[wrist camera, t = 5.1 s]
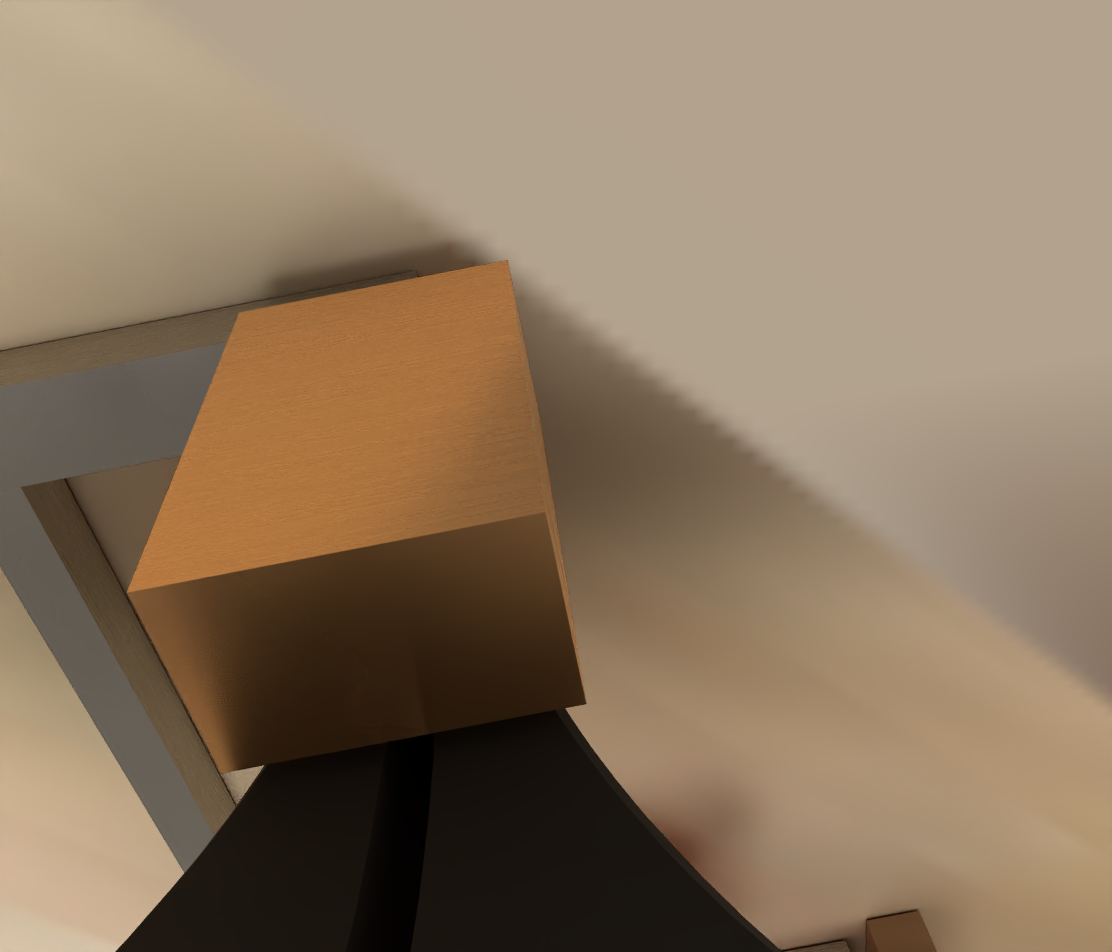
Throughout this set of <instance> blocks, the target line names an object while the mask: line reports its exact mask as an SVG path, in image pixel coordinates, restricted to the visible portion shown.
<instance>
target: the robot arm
mask: <svg viewBox="0 0 1112 952" xmlns="http://www.w3.org/2000/svg"><path fill="white" fill-rule="evenodd" d="M116 952H782V951H781V950H780V949H778V948H777V947H776V946H775V945H774V944H773V943H772V942H771V941H770V940H768V939H767V938H766V937H765V936H764V935H763V934H762V933H761V932H760V931H758V930H757V929H756V928H755V927H754V926H753V925H752V924H751V923H750V922H748V921H747V920H746V919H745V918H744V917H743V916H742V915H741V914H740V913H739V912H738V911H737V910H736V909H735V908H734V907H733V906H732V905H731V904H730V903H729V902H728V901H727V900H726V899H724V898H723V897H722V896H721V895H720V894H719V893H718V892H717V891H716V890H715V889H714V888H713V887H712V886H711V885H710V884H709V883H708V882H707V881H706V880H705V879H704V878H703V877H702V876H701V875H700V874H699V873H698V872H697V871H696V870H695V869H694V867H693V866H692V865H691V864H690V863H689V862H688V861H687V860H686V859H685V858H684V857H683V856H682V855H681V853H680V852H679V851H678V850H677V849H676V848H675V847H674V846H673V845H672V844H671V843H670V842H669V841H668V839H667V838H666V837H665V836H664V835H663V834H662V833H661V832H660V831H659V830H658V829H657V828H656V826H655V825H654V824H653V823H652V822H651V821H650V820H649V819H648V818H647V817H646V816H645V814H644V813H643V812H642V811H641V810H640V808H639V807H638V806H637V805H636V804H635V802H634V801H633V800H632V799H631V797H630V796H629V795H628V794H627V793H626V791H625V790H624V789H623V788H622V786H621V785H620V784H619V783H618V782H617V780H616V779H615V778H614V777H613V775H612V774H611V773H610V771H609V770H608V769H607V767H606V766H605V765H604V763H603V762H602V761H601V759H600V758H599V757H598V755H597V754H596V753H595V751H594V750H593V749H592V747H591V746H590V745H589V743H588V742H587V740H586V739H585V738H584V736H583V735H582V733H581V732H580V730H579V729H578V727H577V726H576V724H575V723H574V721H573V720H572V719H571V717H570V715H569V714H568V712H567V711H566V709H565V708H563V709H557V710H552V711H547V712H542V713H536V714H531V715H526V716H521V717H515V718H510V719H505V720H500V721H494V722H489V723H484V724H479V725H473V726H468V727H463V728H458V729H452V730H447V731H442V732H436V733H431V734H426V735H421V736H415V737H410V738H405V739H400V740H394V741H389V742H384V743H379V744H373V745H368V746H363V747H358V748H352V749H347V750H342V751H336V752H331V753H326V754H321V755H315V756H310V757H305V758H300V759H294V760H289V761H284V762H279V763H273V764H268V765H264V767H263V768H262V770H261V771H260V773H259V774H258V776H257V777H256V779H255V780H254V782H253V783H252V784H251V786H250V787H249V789H248V790H247V792H246V793H245V795H244V796H243V797H242V799H241V800H240V802H239V803H238V804H237V806H236V807H235V809H234V810H233V811H232V813H231V814H230V815H229V817H228V818H227V820H226V821H225V822H224V823H223V825H222V826H221V827H220V829H219V830H218V831H217V833H216V834H215V835H214V837H213V838H212V839H211V841H210V842H209V843H208V845H207V846H206V847H205V848H204V850H203V851H202V852H201V854H200V855H199V856H198V857H197V859H196V860H195V861H194V862H193V863H192V865H191V866H190V867H189V868H188V869H187V871H186V872H185V873H184V874H183V875H182V877H181V878H180V879H179V880H178V881H177V883H176V884H175V885H174V886H173V887H172V889H171V890H170V891H169V892H168V893H167V894H166V895H165V897H164V898H163V899H162V900H161V901H160V902H159V903H158V905H157V906H156V907H155V908H154V909H153V910H152V911H151V913H150V914H149V915H148V916H147V917H146V918H145V919H144V921H143V922H142V923H141V924H140V925H139V926H138V927H137V929H136V930H135V931H134V932H133V933H132V934H131V935H130V937H129V938H128V939H127V940H126V941H125V942H124V943H123V944H122V945H121V946H120V947H119V948H118V950H117V951H116Z"/></svg>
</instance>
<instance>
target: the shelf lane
mask: <svg viewBox="0 0 1112 952" xmlns="http://www.w3.org/2000/svg"><path fill="white" fill-rule="evenodd" d="M866 952H937V951H936V949H935V947H934V944H933V942H932V940H931V937H930V935H929V933H928V930H927V928H926V926H925V924H924V921H923V919H922V917H921V914H920V912H919V911H916V912H910V913H905V914H899V915H894V916H889V917H883V918H878V919H873V920H867V921H866Z"/></svg>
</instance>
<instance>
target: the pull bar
mask: <svg viewBox="0 0 1112 952" xmlns="http://www.w3.org/2000/svg"><path fill="white" fill-rule="evenodd" d="M178 456H181V459H180V461H179V464H178V466H177V469H176V471H175V474H174V476H173V479H172V481H171V484H170V486H169V489H168V491H167V494H166V496H165V499H164V501H163V504H162V506H161V509H160V511H159V514H158V516H157V519H156V521H155V524H154V526H153V529H152V531H151V534H150V536H149V538H148V541H147V543H146V546H145V548H144V551H143V553H142V556H141V558H140V561H139V563H138V566H137V568H136V571H135V573H134V576H133V578H132V581H131V583H130V586H129V588H128V591H127V594H128V596H129V598H130V600H131V602H132V604H133V606H134V608H135V609H136V611H137V613H138V615H139V617H140V619H141V621H142V623H143V625H144V627H145V629H146V630H147V632H148V634H149V636H150V638H151V640H152V642H153V644H154V646H155V648H156V650H157V652H158V653H159V655H160V657H161V659H162V661H163V663H164V665H165V667H166V669H167V671H168V673H169V674H170V676H171V678H172V680H173V682H174V684H175V686H176V688H177V690H178V692H179V694H180V696H181V697H182V699H183V701H184V703H185V705H186V707H187V709H188V711H189V713H190V715H191V717H192V718H193V720H194V722H195V724H196V726H197V728H198V730H199V732H200V734H201V736H202V738H203V740H204V741H205V743H206V745H207V747H208V749H209V751H210V753H211V755H212V757H213V759H214V761H215V763H216V764H217V766H218V768H219V770H220V772H221V773H226V772H231V771H236V770H242V769H247V768H252V767H258V766H263V765H268V764H273V763H279V762H284V761H289V760H294V759H300V758H305V757H310V756H315V755H321V754H326V753H331V752H336V751H342V750H347V749H352V748H358V747H363V746H368V745H373V744H379V743H384V742H389V741H394V740H400V739H405V738H410V737H415V736H421V735H426V734H431V733H436V732H442V731H447V730H452V729H458V728H463V727H468V726H473V725H479V724H484V723H489V722H494V721H500V720H505V719H510V718H515V717H521V716H526V715H531V714H536V713H542V712H547V711H552V710H557V709H563V708H568V707H573V706H579V705H584V704H586V699H585V693H584V686H583V680H582V674H581V668H580V662H579V656H578V650H577V644H576V638H575V631H574V625H573V619H572V613H571V607H570V601H569V595H568V589H567V583H566V576H565V570H564V564H563V558H562V552H561V546H560V540H559V534H558V528H557V521H556V515H555V509H554V503H553V497H552V491H551V485H550V479H549V473H548V466H547V460H546V454H545V448H544V442H543V436H542V430H541V424H540V418H539V412H538V406H537V402H536V397H535V392H534V387H533V382H532V377H531V372H530V367H529V362H528V357H527V352H526V348H525V343H524V338H523V333H522V328H521V323H520V318H519V313H518V308H517V303H516V298H515V294H514V289H513V284H512V279H511V274H510V269H509V264H508V260H506V261H500V262H495V263H490V264H485V265H480V266H475V267H470V268H465V269H459V270H454V271H449V272H444V273H439V274H434V275H429V276H424V277H419V278H418V277H417V273H416V271H410V272H405V273H400V274H395V275H390V276H385V277H380V278H375V279H370V280H364V281H359V282H354V283H349V284H344V285H339V286H334V287H329V288H323V289H318V290H313V291H308V292H303V293H298V294H293V295H288V296H283V297H277V298H272V299H267V300H262V301H257V302H252V303H247V304H242V305H237V306H231V307H226V308H221V309H216V310H211V311H206V312H201V313H196V314H191V315H185V316H180V317H175V318H170V319H165V320H160V321H155V322H150V323H144V324H139V325H134V326H129V327H124V328H119V329H114V330H109V331H104V332H98V333H93V334H88V335H83V336H78V337H73V338H68V339H63V340H58V341H52V342H47V343H42V344H37V345H32V346H27V347H22V348H17V349H12V350H6V351H1V352H0V567H1V569H2V570H3V572H4V574H5V575H6V577H7V579H8V580H9V582H10V584H11V585H12V587H13V589H14V590H15V592H16V594H17V595H18V597H19V599H20V600H21V602H22V604H23V605H24V607H25V609H26V610H27V612H28V614H29V615H30V617H31V619H32V620H33V622H34V624H35V625H36V627H37V629H38V630H39V632H40V634H41V635H42V637H43V639H44V640H45V642H46V643H47V645H48V647H49V648H50V650H51V652H52V653H53V655H54V657H55V658H56V660H57V662H58V663H59V665H60V667H61V668H62V670H63V672H64V673H65V675H66V677H67V678H68V680H69V682H70V683H71V685H72V687H73V688H74V690H75V692H76V693H77V695H78V697H79V698H80V700H81V702H82V703H83V705H84V707H85V708H86V710H87V712H88V713H89V715H90V717H91V718H92V720H93V722H94V723H95V725H96V727H97V728H98V730H99V732H100V733H101V735H102V737H103V738H104V740H105V742H106V743H107V745H108V747H109V748H110V750H111V752H112V753H113V755H114V757H115V758H116V760H117V762H118V763H119V765H120V767H121V768H122V770H123V772H124V773H125V775H126V777H127V778H128V780H129V782H130V783H131V785H132V787H133V788H134V790H135V792H136V793H137V795H138V796H139V798H140V800H141V801H142V803H143V805H144V806H145V808H146V810H147V811H148V813H149V815H150V816H151V818H152V820H153V821H154V823H155V825H156V826H157V828H158V830H159V831H160V833H161V835H162V836H163V838H164V840H165V841H166V843H167V845H168V846H169V848H170V850H171V851H172V853H173V855H174V856H175V858H176V860H177V861H178V863H179V865H180V866H181V868H182V870H183V871H184V873H185V872H186V871H187V869H188V868H189V867H190V866H191V865H192V863H193V862H194V861H195V860H196V859H197V857H198V856H199V855H200V854H201V852H202V851H203V850H204V848H205V847H206V846H207V845H208V843H209V842H210V841H211V839H212V838H213V837H214V835H215V834H216V833H217V831H218V830H219V829H220V827H221V826H222V825H223V823H224V822H225V821H226V820H227V818H228V817H229V815H230V814H231V813H232V811H233V810H234V809H235V807H236V806H235V804H234V802H233V800H232V798H231V796H230V794H229V792H228V791H227V789H226V787H225V785H224V783H223V781H222V779H221V777H220V775H219V773H218V772H217V770H216V768H215V766H214V764H213V762H212V760H211V758H210V756H209V754H208V752H207V751H206V749H205V747H204V745H203V743H202V741H201V739H200V737H199V735H198V733H197V731H196V730H195V728H194V726H193V724H192V722H191V720H190V718H189V716H188V714H187V712H186V711H185V709H184V707H183V705H182V703H181V701H180V699H179V697H178V695H177V693H176V691H175V690H174V688H173V686H172V684H171V682H170V680H169V678H168V676H167V674H166V672H165V671H164V669H163V667H162V665H161V663H160V661H159V659H158V657H157V655H156V653H155V651H154V650H153V648H152V646H151V644H150V642H149V640H148V638H147V636H146V634H145V632H144V630H143V629H142V627H141V625H140V623H139V621H138V619H137V617H136V615H135V613H134V611H133V610H132V608H131V606H130V604H129V602H128V600H127V598H126V596H125V594H124V592H123V590H122V589H121V587H120V585H119V583H118V581H117V579H116V577H115V575H114V573H113V571H112V570H111V568H110V566H109V564H108V562H107V560H106V558H105V556H104V554H103V552H102V550H101V549H100V547H99V545H98V543H97V541H96V539H95V537H94V535H93V533H92V531H91V529H90V528H89V526H88V524H87V522H86V520H85V518H84V516H83V514H82V512H81V510H80V509H79V507H78V505H77V503H76V501H75V499H74V497H73V495H72V493H71V491H70V489H69V488H68V486H67V484H66V482H65V480H64V478H69V477H74V476H80V475H85V474H90V473H95V472H100V471H105V470H110V469H116V468H121V467H126V466H131V465H136V464H141V463H147V462H152V461H157V460H162V459H167V458H172V457H178ZM785 952H850V951H849V948H848V945H847V943H846V940H844V941H839V942H834V943H828V944H823V945H818V946H812V947H807V948H801V949H796V950H791V951H785Z"/></svg>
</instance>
